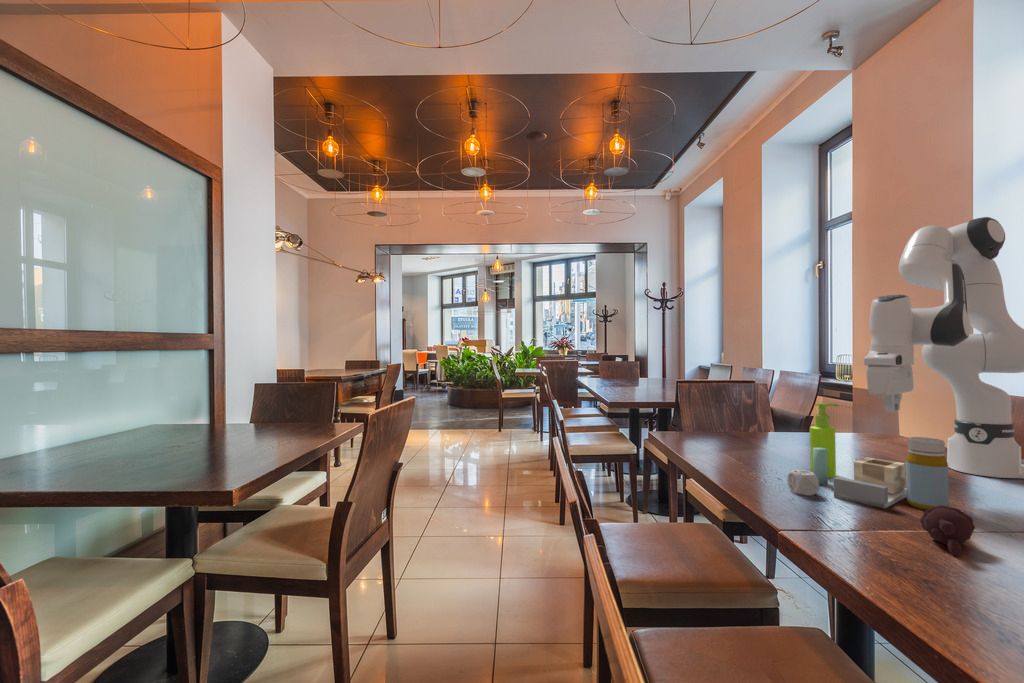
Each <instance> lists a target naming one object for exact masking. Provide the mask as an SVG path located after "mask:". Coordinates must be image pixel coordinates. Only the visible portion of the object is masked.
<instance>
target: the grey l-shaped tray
mask: <svg viewBox="0 0 1024 683" xmlns="http://www.w3.org/2000/svg"><path fill="white" fill-rule="evenodd" d="M833 497H834V498H837V499H841V500H846V501H849V502H850V501H851V502H854V503H858V504H864V505H867V506H871V507H874V508H875V507H877V508H879V509H887V508H889V507H891V506H893V505H894V504H896V503H898V502H899V501H902V500H904V499H905V498H906V499H907V487H906V488H905V489H903V490H901V491H899V492H897V493H895V494H891V493H888V487H886V486H881V485H876V484H871V483H866V482H861V481H856V480H854V479H850V478H846V477H845V478H844V477H840V476H835V477H833Z"/></svg>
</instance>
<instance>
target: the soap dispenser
mask: <svg viewBox="0 0 1024 683" xmlns="http://www.w3.org/2000/svg"><path fill="white" fill-rule="evenodd" d="M814 405H815V406H816V407H818V413H817V414H815V416H814V422H815V424H814V425H812V426H810V427H809V435H810V438H809V442H810V444H809V445H810V472H813V448H825V449H827V456H828V478H835V477H837V466H836V465H837V462H836V460H837V458H836V455H837V454H836V453H837V452H836V428H835V427H832V426H830V425H831V423H830V422H831V421H830V420H831V419H830V415H829V414H827V410H826V409H827V406H828V407H832V406H833V407H838V406H839V405H838V404H836V403H831V402H816V403H814Z"/></svg>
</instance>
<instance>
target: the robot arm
mask: <svg viewBox="0 0 1024 683" xmlns="http://www.w3.org/2000/svg"><path fill="white" fill-rule="evenodd" d="M1005 240H1006V232H1005V229H1004V227H1003V226H1002V224H1001V223H1000V222H999V221H998V220H997V219H996V218H995V219H994V218H992V217H989V216H983V217H977V218H973V219H971V220H969V221H967V222H963V223H959V224H957V225H954V226H950V227H948V228H946V227H945V226H942V225H927V226H923V227H921V228H919V229H917V230H915V232H914V233H913V234H912V235H911V237H910V238H909V239H908V241H907V243H906V244H905V247H904V249H903V251H902V254H901V256H900V259H899V262H898V272H899V275H900V277H901V278H902V280H904V281H905V282H906V283H908V284H910V285H912V286H915V287H918V288H923V289H930V290H931V289H932V290H938V291H942V292H943V304H942V305H941V304H940V305H939V306H935V307H934V306H933V307H921V308H920V307H919V308H916V307H915V308H912V304H911V299H910V297H909V296H908V295H906V294H890V295H885V296H884V295H882V296H878V297H876V298H874V299H872V301H871V305H870V310H869V322H868V323H869V325H868V327H869V328H868V329H869V332H870V337H871V341H870V343H869V351H868V353H867V355H865V356H864V358H863V363H864V364H863V365H865V366H867V367H866V384H867V390H868V393H869V395H870V396H875V397H881V399H882V402H883V406H884V408H883V409H884V411H885V412H886V413H894V412H899V411H901V406H900V405H901V403H902V399H903V398H902V397H903V393H904V394H905V393H912V392H913V391H914V387H915V386H914V374H913V373H914V372H913V371H914V370H913V367H912V366H913V365H914V364H915V362H914V360H915V358H914V357H915V355H914V354H915V352H914V351H915V349H914V346H922V348H921V358H922V361H923V362H924V364H925V365H926V366H927V367H928V368H929V369H931V370H933V371H934V372H936V373H937V374H939V375H940V376H941V377H943V379H945V381H946V382H947V383H948V384H949V386H950V388H951V389H952V392H953V395H954V396H953V397H954V400H955V412H956V414H955V416H956V419H954V423H953V427H954V432H955V433H954V435H951V436H950V437H948V438H947V450H946V451H947V454H946V455H947V456H946V460H947V463H948V469H951V470H953V471H957V472H961V473H965V474H970V475H977V476H983V477H989V478H990V477H991V478H999V479H1001V478H1003V479H1023V480H1024V458H1022V446H1020V444H1018V443H1017V441H1016V440H1015V439H1014V438H1015V436H1016V435H1015V433H1016V431H1015V426H1014V424H1013V423H1012V398H1011V396H1010V395H1009V394H1008V393H1007V392H1006V391H1005V390H1004V389H1002V388H1000V387H997V386H994V385H992V384H989V383H986V382H984V381H982V380H981V378H980V376H979V374H983V373H986V374H987V373H991V374H993V373H995V374H996V373H997V374H999V373H1000V374H1020V373H1024V328H1023V327H1022V326H1020V325H1019V324H1017V323H1016V322H1015V321H1014V320H1013V319H1012V317H1011V316H1010V314H1009V312H1008V308H1007V305H1006V304H1007V303H1006V299H1005V292H1004V285H1003V279H1002V276H1001V272H1000V269H999V267H998V265H997V263H996V261H995V260H994V259H995V258H997V257H998V256H999V254H1000V250H1001V249H1002V248H1003V246H1004V243H1005ZM971 328H974V329H975V330H977V331H979V332H980V333H971ZM970 333H971V334H970Z"/></svg>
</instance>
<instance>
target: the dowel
mask: <svg viewBox="0 0 1024 683" xmlns="http://www.w3.org/2000/svg"><path fill="white" fill-rule="evenodd" d="M813 473H814V474H815V475H816V476H817V478H818V481H819V486H820V485H823V486H826V485H829V477H828V456H827V449H825V448H813Z"/></svg>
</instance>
